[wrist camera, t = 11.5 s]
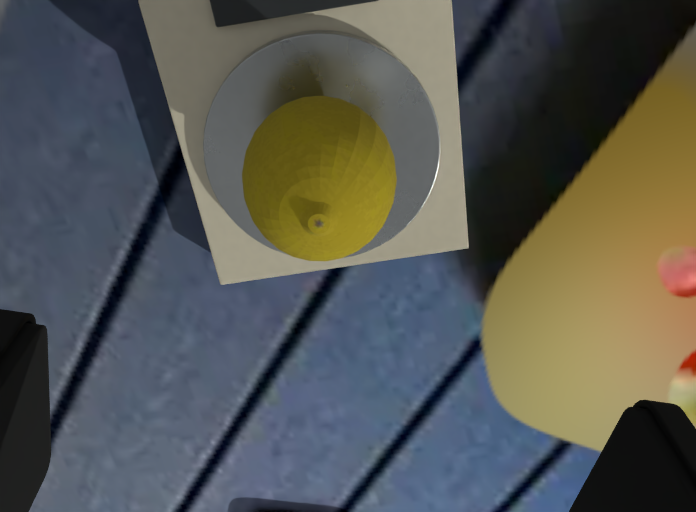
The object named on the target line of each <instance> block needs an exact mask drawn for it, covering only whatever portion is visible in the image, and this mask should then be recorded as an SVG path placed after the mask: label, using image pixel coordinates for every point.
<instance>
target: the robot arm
mask: <svg viewBox="0 0 696 512" xmlns="http://www.w3.org/2000/svg"><path fill="white" fill-rule="evenodd" d="M50 457H51V433H50V401H49V370H48V338H47V329H46V326H44V325H38V324H36V320H35V317H34V315H32V314H30V313H23V312H16V311H9V310H2V309H0V512H29V510H30V508H31V505H32V503H33V501H34V499H35V497H36V495H37V493H38V491H39V489H40V487H41V484H42V482H43V480H44V478H45V476H46V473H47V470H48V467H49V463H50ZM569 512H696V429H695V427H694V426H693V424H692V423H691V421H690V420H689V419H688V417H687V416H686V414H685V413H684V411H683V410H682V409H681V408H680V407H679V406H677V405H675V404H670V403H663V402H656V401H649V400H640V401H638V402H637V403H635V405H634V406H633V407H629V408H627V409H626V410H625V411H624V412H623V414H622V416H621V418H620V420H619V421H618V423H617V425H616V427H615V429H614V430H613V432H612V434H611V436H610V438H609V439H608V441H607V443H606V445H605V447H604V449H603V450H602V452H601V454H600V456H599V458H598V459H597V461H596V463H595V465H594V467H593V469H592V470H591V472H590V474H589V476H588V478H587V480H586V481H585V483H584V485H583V487H582V489H581V490H580V492H579V494H578V496H577V498H576V500H575V501H574V503H573V505H572V507H571V509H570V511H569Z"/></svg>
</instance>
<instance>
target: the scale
mask: <svg viewBox="0 0 696 512" xmlns="http://www.w3.org/2000/svg"><path fill="white" fill-rule="evenodd" d="M138 2H139V6H140V9H141V12H142V16H143V19H144V23H145V26H146V30H147V33H148V37H149V40H150V43H151V47H152V50H153V54H154V57H155V61H156V64H157V68H158V71H159V74H160V78H161V81H162V85H163V88H164V92H165V95H166V99H167V102H168V105H169V109H170V112H171V116H172V119H173V123H174V126H175V130H176V133H177V136H178V140H179V143H180V147H181V150H182V154H183V157H184V161H185V164H186V167H187V171H188V174H189V178H190V181H191V185H192V188H193V192H194V195H195V198H196V202H197V205H198V209H199V212H200V216H201V219H202V223H203V226H204V229H205V233H206V236H207V240H208V243H209V247H210V250H211V254H212V257H213V260H214V264H215V267H216V271H217V274H218V278H219V281H220V284H221V285H223V284H230V283H237V282H244V281H250V280H257V279H264V278H271V277H277V276H284V275H291V274H298V273H304V272H311V271H318V270H325V269H331V268H338V267H345V266H352V265H358V264H365V263H372V262H379V261H385V260H392V259H399V258H406V257H412V256H419V255H426V254H433V253H439V252H446V251H453V250H460V249H466V248H468V247H469V245H468V230H467V216H466V201H465V187H464V172H463V158H462V143H461V129H460V114H459V100H458V85H457V71H456V56H455V42H454V27H453V13H452V0H139V1H138ZM310 96H328V97H334V98H340V99H342V100H345V101H347V102H349V103H352V104H354V105H356V106H358V107H359V108H360V109H362V110H363V111H364V112H365V113H367V114H368V115H369V116H370V117H372V118H373V119H374V120H375V122H376V123H377V124H378V126H379V127H380V128H381V130H382V131H383V132H384V134H385V135H386V137H387V140H388V142H389V145H390V147H391V150H392V152H393V155H394V159H395V168H396V177H397V182H396V189H395V195H394V201H393V205H392V207H391V210H390V212H389V214H388V217H387V219H386V221H385V223H384V225H383V227H382V228H381V229H380V230H379V232H378V233H377V234H376V235H375V237H374V238H373V239H372V240H371V241H370V242H369V243H367V244H366V245H365V246H364V247H362V248H361V249H360V250H358V251H357V252H355V253H353V254H350V255H348V256H346V257H344V258H341V259H336V260H331V261H307V260H303V259H299V258H295V257H292V256H290V255H288V254H286V253H284V252H283V251H281V250H279V249H277V248H276V247H275V246H274V245H273V244H272V243H270V242H269V241H268V240H267V239H266V238H265V237H264V236H263V235H262V233H261V232H260V231H259V229H258V228H257V226H256V225H255V224H254V222H253V220H252V218H251V215H250V213H249V210H248V208H247V205H246V202H245V199H244V193H243V182H242V170H243V164H244V159H245V153H246V150H247V147H248V145H249V143H250V141H251V139H252V137H253V135H254V132H255V131H256V129H257V128H258V127H259V126H260V125H261V124H262V122H263V121H264V120H265V119H266V118H267V117H268V115H270V114H271V113H272V112H274V111H275V110H277V109H278V108H280V107H281V106H283V105H284V104H286V103H288V102H291V101H294V100H297V99H299V98H302V97H310Z"/></svg>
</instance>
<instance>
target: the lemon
mask: <svg viewBox="0 0 696 512" xmlns="http://www.w3.org/2000/svg"><path fill="white" fill-rule="evenodd" d="M242 182H243V193H244V199H245V202H246V205H247V208H248V210H249V213H250V215H251V218H252V220H253V222H254V224H255V225H256V226H257V228H258V229H259V231H260V232H261V233H262V235H263V236H264V237H265V238H266V239H267V240H268V241H269V242H270V243H272V244H273V245H274V246H275V247H276V248H277V249H279V250H281V251H283V252H284V253H286V254H288V255H290V256H292V257H295V258H299V259H303V260H307V261H331V260H336V259H341V258H344V257H346V256H348V255H350V254H353V253H355V252H357V251H358V250H360V249H361V248H362V247H364V246H365V245H366V244H367V243H369V242H370V241H371V240H372V239H373V238H374V237H375V235H376V234H377V233H378V232H379V230H380V229H381V228H382V227H383V225H384V223H385V221H386V219H387V217H388V214H389V212H390V210H391V207H392V205H393V201H394V195H395V189H396V182H397V177H396V168H395V159H394V155H393V152H392V150H391V147H390V145H389V142H388V140H387V137H386V135H385V134H384V132H383V131H382V130H381V128H380V127H379V126H378V124H377V123H376V122H375V120H374V119H373V118H372V117H370V116H369V115H368V114H367V113H365V112H364V111H363V110H362V109H360V108H359V107H358V106H356V105H354V104H352V103H349V102H347V101H345V100H342V99H340V98H334V97H328V96H310V97H302V98H299V99H297V100H294V101H291V102H288V103H286V104H284V105H283V106H281V107H280V108H278V109H277V110H275V111H274V112H272V113H271V114H270V115H268V117H267V118H266V119H265V120H264V121H263V122H262V124H261V125H260V126H259V127H258V128H257V129H256V131H255V132H254V135H253V137H252V139H251V141H250V143H249V145H248V147H247V150H246V153H245V159H244V164H243V170H242Z"/></svg>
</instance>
